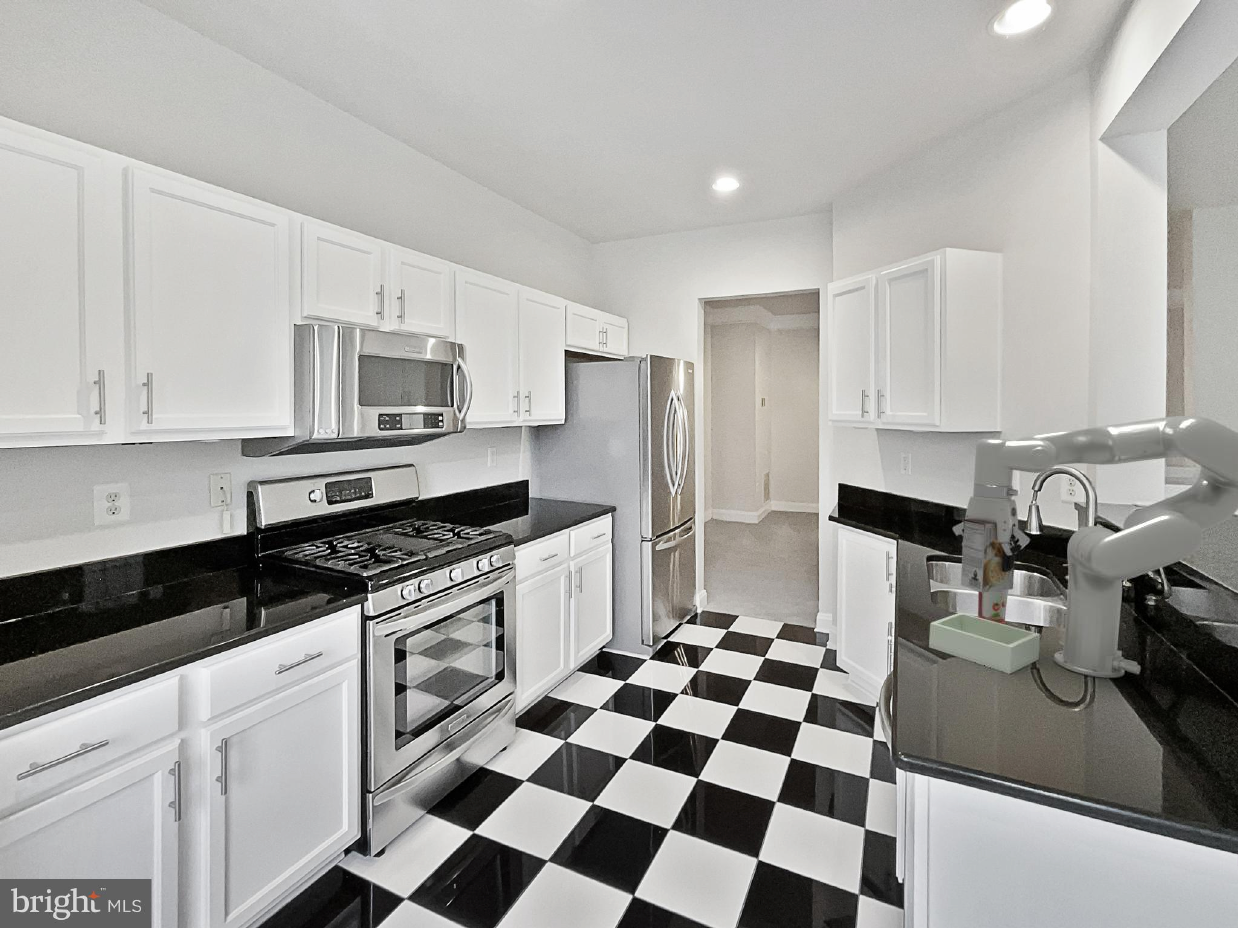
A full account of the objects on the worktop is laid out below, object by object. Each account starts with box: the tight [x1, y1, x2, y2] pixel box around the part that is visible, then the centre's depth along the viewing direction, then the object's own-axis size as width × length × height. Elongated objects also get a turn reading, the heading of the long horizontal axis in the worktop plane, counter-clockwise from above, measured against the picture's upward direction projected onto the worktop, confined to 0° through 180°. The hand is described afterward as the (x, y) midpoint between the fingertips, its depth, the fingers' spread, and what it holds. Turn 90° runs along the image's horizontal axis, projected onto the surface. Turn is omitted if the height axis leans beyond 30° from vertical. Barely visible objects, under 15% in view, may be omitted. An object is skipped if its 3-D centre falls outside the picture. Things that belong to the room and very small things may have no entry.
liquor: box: [977, 590, 1009, 625], centre depth 159 cm, size 7×7×28 cm
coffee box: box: [960, 518, 1016, 593], centre depth 144 cm, size 9×6×16 cm
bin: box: [928, 612, 1041, 675], centre depth 146 cm, size 18×14×6 cm
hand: (987, 566), depth 145 cm, fingers closed on coffee box, 7 cm apart
